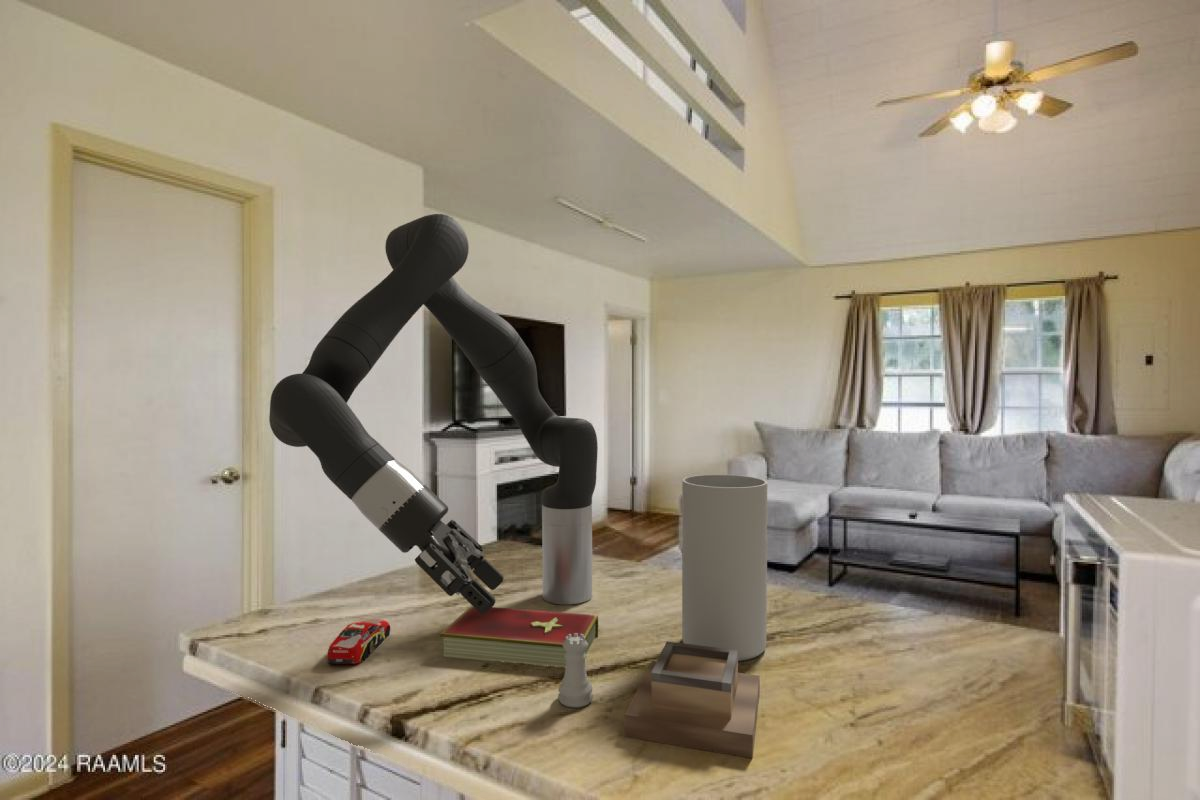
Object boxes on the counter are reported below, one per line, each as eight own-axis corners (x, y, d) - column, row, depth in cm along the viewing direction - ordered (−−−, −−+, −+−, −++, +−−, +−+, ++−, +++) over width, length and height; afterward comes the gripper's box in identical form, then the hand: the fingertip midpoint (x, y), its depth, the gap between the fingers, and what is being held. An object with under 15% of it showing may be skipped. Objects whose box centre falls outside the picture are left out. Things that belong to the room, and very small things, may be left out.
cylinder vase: (772, 636, 98) (773, 477, 97) (757, 670, 86) (758, 490, 86) (695, 623, 103) (695, 472, 102) (671, 653, 92) (671, 484, 91)
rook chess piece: (589, 711, 76) (588, 645, 76) (553, 707, 77) (553, 642, 77) (596, 693, 80) (596, 631, 80) (563, 689, 81) (562, 628, 81)
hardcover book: (472, 628, 102) (472, 603, 102) (598, 638, 98) (598, 612, 98) (439, 660, 91) (439, 631, 91) (580, 674, 87) (580, 644, 86)
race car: (363, 631, 101) (362, 607, 101) (395, 632, 100) (395, 608, 100) (319, 669, 88) (319, 640, 88) (356, 670, 87) (356, 642, 87)
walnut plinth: (651, 679, 84) (651, 631, 84) (759, 694, 80) (759, 644, 79) (624, 736, 70) (624, 679, 70) (752, 758, 66) (752, 697, 66)
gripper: (406, 493, 70) (510, 593, 71) (434, 474, 84) (521, 558, 85) (359, 541, 70) (463, 641, 71) (395, 514, 84) (481, 597, 85)
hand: (494, 595), depth 78 cm, fingers open, 8 cm apart
